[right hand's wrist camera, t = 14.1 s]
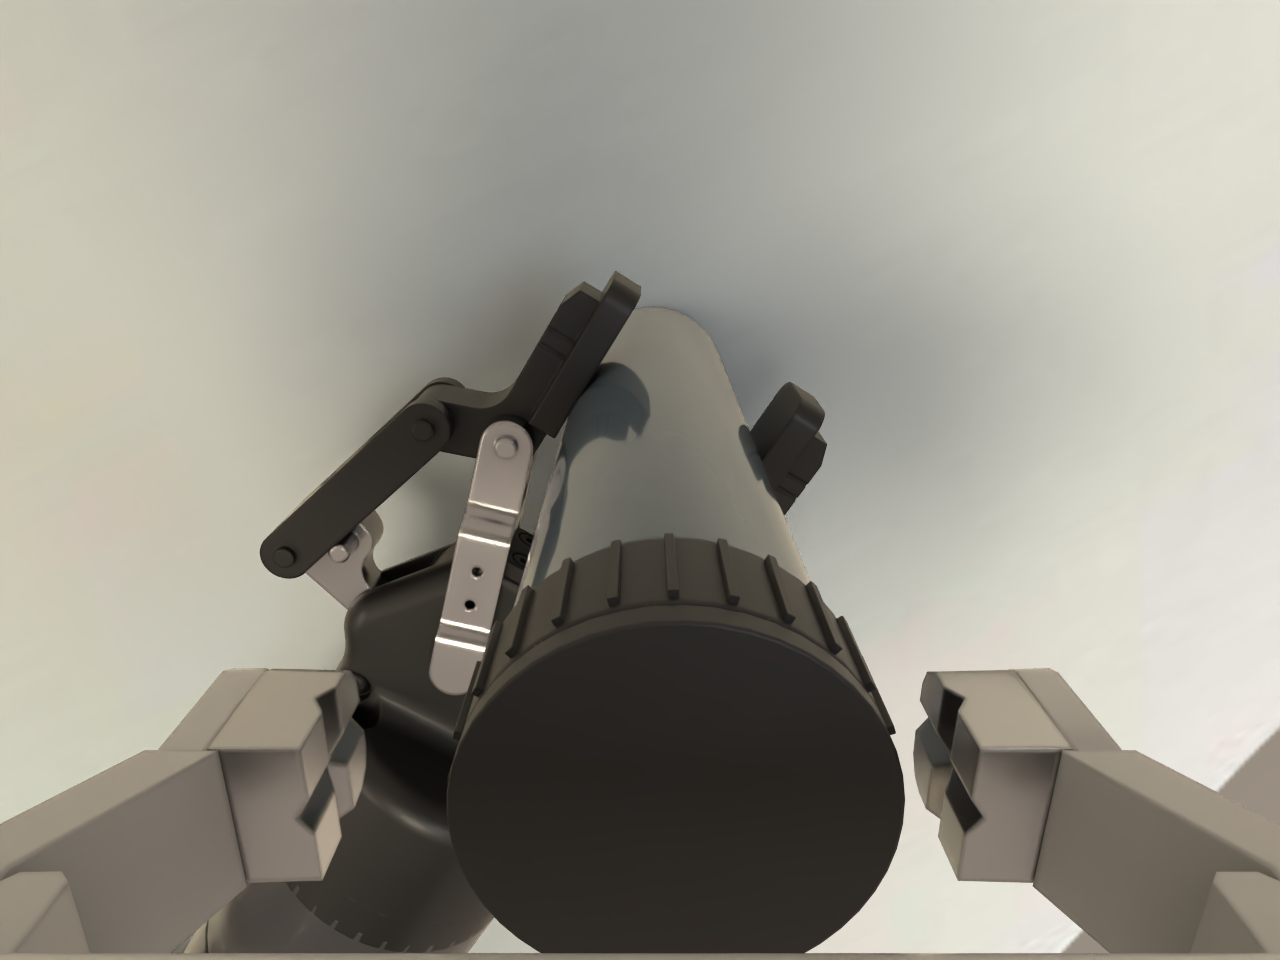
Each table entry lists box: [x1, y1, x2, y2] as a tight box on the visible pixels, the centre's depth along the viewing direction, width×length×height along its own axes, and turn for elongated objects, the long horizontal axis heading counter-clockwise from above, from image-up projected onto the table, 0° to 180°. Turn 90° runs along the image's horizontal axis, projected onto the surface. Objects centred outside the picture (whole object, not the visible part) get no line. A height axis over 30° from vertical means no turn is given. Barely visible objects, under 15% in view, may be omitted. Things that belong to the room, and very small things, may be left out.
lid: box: [447, 533, 905, 953], centre depth 9 cm, size 5×5×2 cm
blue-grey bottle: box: [513, 307, 810, 608], centre depth 18 cm, size 4×4×18 cm
